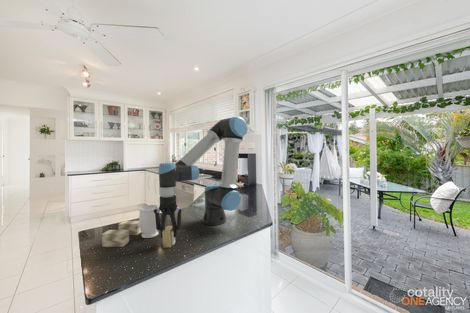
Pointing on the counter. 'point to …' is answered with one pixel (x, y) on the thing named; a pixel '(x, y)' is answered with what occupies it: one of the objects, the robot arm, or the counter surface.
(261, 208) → the counter surface
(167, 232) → the yellowish stone chunk
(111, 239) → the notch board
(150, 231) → the jar
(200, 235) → the counter surface
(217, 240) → the counter surface
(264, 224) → the counter surface
